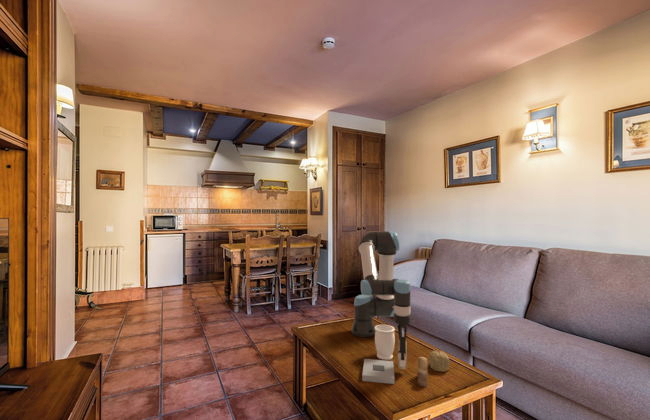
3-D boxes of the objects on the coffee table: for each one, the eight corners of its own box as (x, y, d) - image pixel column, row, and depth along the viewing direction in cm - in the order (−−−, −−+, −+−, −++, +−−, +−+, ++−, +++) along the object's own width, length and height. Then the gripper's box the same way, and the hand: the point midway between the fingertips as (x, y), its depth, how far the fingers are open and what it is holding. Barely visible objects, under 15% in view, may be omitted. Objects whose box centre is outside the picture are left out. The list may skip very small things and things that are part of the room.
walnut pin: (417, 381, 135) (416, 370, 135) (426, 382, 135) (426, 370, 135) (418, 386, 131) (418, 374, 131) (428, 387, 131) (427, 375, 131)
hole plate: (364, 363, 152) (364, 358, 152) (393, 366, 149) (393, 361, 149) (362, 380, 136) (362, 375, 136) (394, 384, 133) (394, 378, 133)
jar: (395, 362, 153) (395, 332, 154) (374, 360, 155) (374, 330, 156) (394, 353, 164) (394, 324, 164) (375, 351, 166) (375, 323, 166)
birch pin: (397, 364, 145) (397, 339, 145) (406, 365, 145) (406, 340, 145) (398, 368, 141) (397, 343, 141) (406, 369, 141) (406, 343, 141)
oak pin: (417, 373, 142) (417, 356, 142) (426, 374, 141) (426, 357, 141) (418, 378, 138) (418, 360, 138) (428, 379, 137) (427, 361, 137)
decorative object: (428, 370, 152) (421, 357, 149) (441, 356, 155) (434, 342, 152) (443, 381, 144) (436, 367, 141) (456, 366, 147) (450, 351, 144)
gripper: (393, 307, 152) (393, 354, 152) (394, 319, 135) (394, 372, 135) (408, 308, 151) (408, 355, 151) (412, 320, 134) (412, 374, 134)
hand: (402, 363), depth 143 cm, fingers closed on birch pin, 4 cm apart
